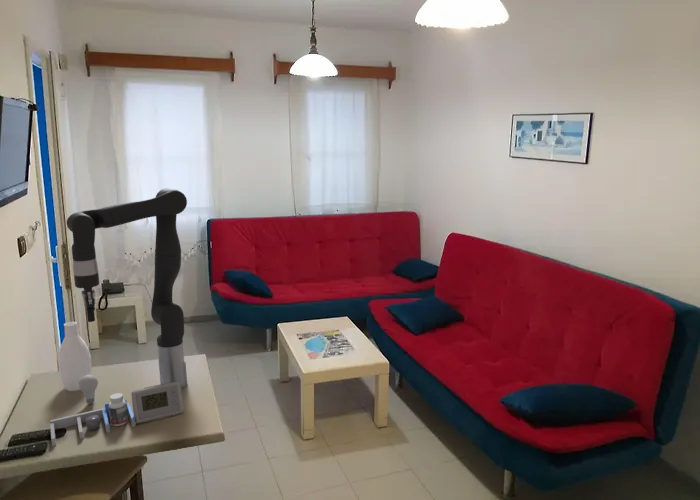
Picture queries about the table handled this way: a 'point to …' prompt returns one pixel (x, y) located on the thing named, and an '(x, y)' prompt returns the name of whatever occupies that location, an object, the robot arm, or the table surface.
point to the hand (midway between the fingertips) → (91, 321)
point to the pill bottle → (117, 410)
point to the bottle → (73, 358)
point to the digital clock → (157, 402)
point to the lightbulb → (88, 387)
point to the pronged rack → (87, 421)
